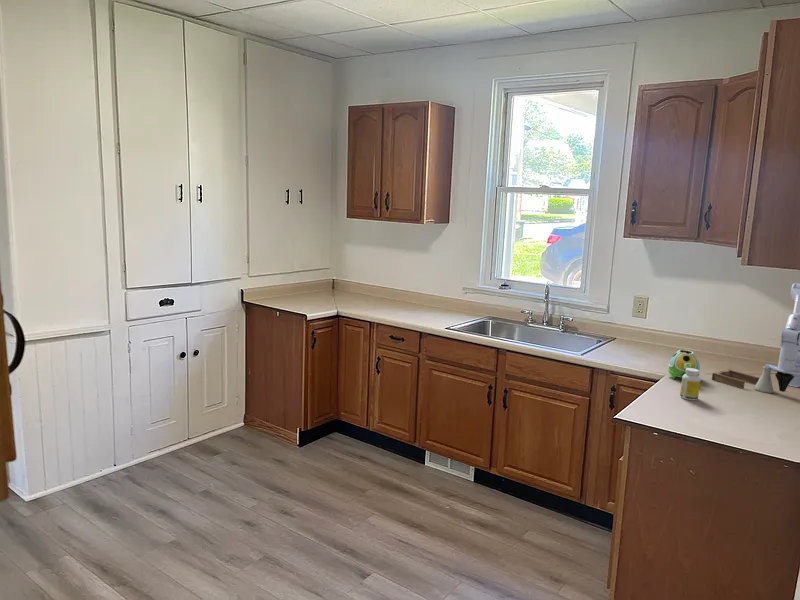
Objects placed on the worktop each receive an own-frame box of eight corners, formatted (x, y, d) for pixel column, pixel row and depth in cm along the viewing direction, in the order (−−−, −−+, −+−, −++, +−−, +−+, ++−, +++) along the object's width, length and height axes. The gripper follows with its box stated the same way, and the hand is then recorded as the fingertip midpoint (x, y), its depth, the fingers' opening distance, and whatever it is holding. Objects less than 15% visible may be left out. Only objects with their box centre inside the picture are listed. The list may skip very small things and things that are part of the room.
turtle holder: (670, 383, 249) (674, 356, 247) (665, 371, 266) (668, 346, 264) (703, 387, 246) (706, 360, 244) (695, 375, 263) (699, 349, 261)
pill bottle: (701, 400, 229) (705, 372, 227) (686, 401, 228) (690, 372, 226) (690, 395, 236) (694, 367, 234) (676, 395, 235) (679, 367, 232)
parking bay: (728, 375, 264) (729, 369, 264) (758, 384, 253) (759, 377, 253) (711, 379, 257) (712, 373, 257) (742, 388, 246) (743, 381, 246)
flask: (755, 386, 250) (758, 363, 249) (775, 390, 246) (778, 367, 244) (752, 390, 245) (755, 367, 243) (772, 394, 240) (776, 371, 239)
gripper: (763, 355, 241) (758, 387, 243) (802, 364, 229) (797, 398, 231) (772, 353, 244) (767, 384, 247) (811, 362, 232) (805, 395, 235)
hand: (782, 391), depth 239 cm, fingers closed
